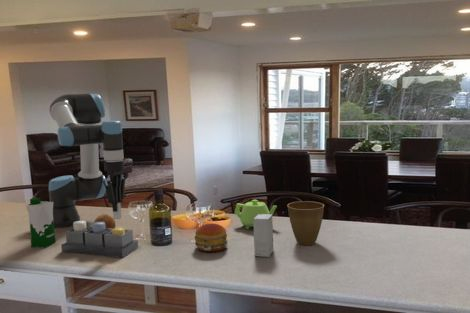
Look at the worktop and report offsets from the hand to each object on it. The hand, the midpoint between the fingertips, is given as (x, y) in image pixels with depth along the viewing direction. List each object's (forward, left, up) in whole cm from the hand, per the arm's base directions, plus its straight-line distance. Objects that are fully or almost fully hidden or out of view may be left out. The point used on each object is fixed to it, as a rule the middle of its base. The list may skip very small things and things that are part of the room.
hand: (117, 218), depth 176 cm
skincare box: (-11, +57, -14) cm, 60 cm away
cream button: (0, -18, -8) cm, 19 cm away
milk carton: (0, -37, -14) cm, 39 cm away
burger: (-12, +35, -14) cm, 40 cm away
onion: (-17, -18, -14) cm, 28 cm away
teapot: (-45, +45, -14) cm, 65 cm away
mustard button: (0, 0, -9) cm, 9 cm away
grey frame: (0, -9, -14) cm, 16 cm away
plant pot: (-27, +71, -14) cm, 77 cm away
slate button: (0, -9, -8) cm, 12 cm away
